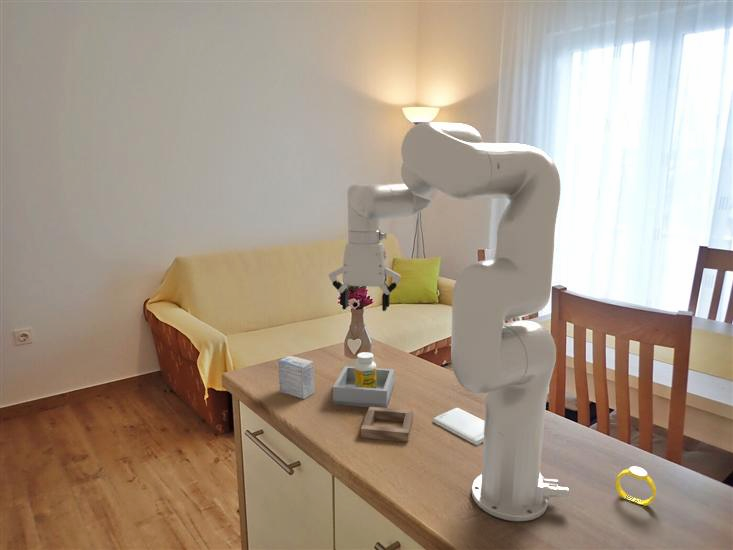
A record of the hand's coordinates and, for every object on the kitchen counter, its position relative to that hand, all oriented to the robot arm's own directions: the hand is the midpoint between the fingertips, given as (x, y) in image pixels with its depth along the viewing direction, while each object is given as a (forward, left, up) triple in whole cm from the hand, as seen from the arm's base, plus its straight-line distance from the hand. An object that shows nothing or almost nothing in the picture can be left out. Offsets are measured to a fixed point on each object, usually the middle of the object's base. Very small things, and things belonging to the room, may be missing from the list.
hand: (364, 308), depth 123 cm
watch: (-53, +32, -23) cm, 66 cm away
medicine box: (+17, +2, -23) cm, 28 cm away
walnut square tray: (-8, +15, -22) cm, 28 cm away
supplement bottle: (0, 0, -22) cm, 22 cm away
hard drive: (-25, +11, -23) cm, 36 cm away
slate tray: (0, 0, -22) cm, 22 cm away
